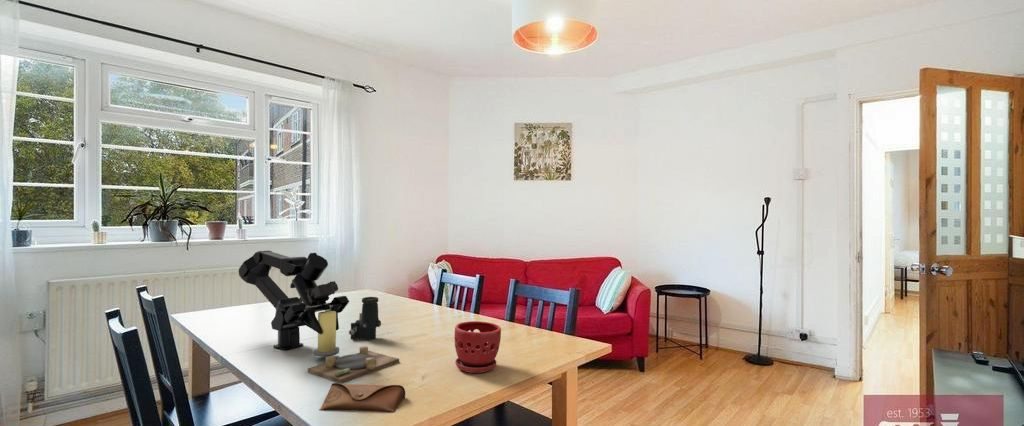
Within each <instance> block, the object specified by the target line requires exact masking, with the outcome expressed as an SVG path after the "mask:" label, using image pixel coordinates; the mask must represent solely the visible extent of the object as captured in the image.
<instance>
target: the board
mask: <svg viewBox="0 0 1024 426" xmlns="http://www.w3.org/2000/svg"><path fill="white" fill-rule="evenodd" d="M398 363H400V359H399V358H397V357H394V356H391V355H386V354H383V353H379V352H376V351H372V350H369V347H368V346H360V347H359V352H357V353H352V354H347V355H342V356H339V357H337V358H336V356H335V355H333V356H326V357H325V362H324V363H321V364H318V365H314V366H311V367H308V368H307V373H310V374H312V375H314V376H315V375H316V376H318V377H321V378H324V379H326V380H329V381H332V382H334V383H340V384H343V383H345V382H348V381H350V380H353V379H357V378H359V377H361V376H364V375H367V374H369V373H372V372H375V371H379V370H381V369H384V368H387V367H389V366H392V365H395V364H398Z"/></svg>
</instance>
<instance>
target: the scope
mask: <svg viewBox="0 0 1024 426" xmlns="http://www.w3.org/2000/svg"><path fill="white" fill-rule="evenodd" d="M361 302H362V305H361V312H359V318H358V319H357V320H355V322H351V323H350V329H349V331H348V335H350V340H364V341H372V340H373V341H374V340H376V339H377V328H380V327H381V325H382V321H381V320H380V319H379V304H378V302H379V298H378V297H377V296H366V297H363V298H361Z"/></svg>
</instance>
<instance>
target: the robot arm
mask: <svg viewBox="0 0 1024 426" xmlns="http://www.w3.org/2000/svg"><path fill="white" fill-rule="evenodd" d="M328 266H329V263H328V260H327V259H325V257H323V256H321V255H318V253H317V252H311V253H309V254H308V256H307V257H306V256H287V255H284V254H280V253H278V252H273V250H258V251H256V252H255V253H253V255H252V256H251V257H249V258H247V259H246V260H245V261H243V263H242V264H241V265H240V266H239V268H238V276H239V278H240V279H242V281H243V282H245V283H247V284H249V285H253V286H255V287H256V288H257V289H258V290H259V291H260V293H262V295H263V296H264V297H265V298H266V300H267V301H268V302H269V303H270V304H271V305H272V307H274V309H275V315H274V318H273V319H272V320H271V323H270V324H271V329H272V330H275V331H277V344H274V345H273V348H276V349H278V350H279V349H280V350H283V351H288V350H291V349H296V348H298V347H303V346H304V343H303V342H300V340H301V339H300V338H301V337H300V327H308V328H309V329H311V330H313V331H314V332H316V333H317V334H318V333H319V334H322V333H323V330H322V328H321V326H320V324H319V322H318V317H316V313H319V312H323V311H335V312H336V331H338V330H339V329H340V325H339V313H341V312H343V310H344V309H346V307H347V305H348V304H349V303H350V300H349V298H348V296H347V295H339V296H335V297H333V299H332V300H331V301H330V302H327V301H329V299H330V296H331V295H335V293H336V292H337V291H339V286H338V283H337V282H336V281H335V280H333V281H329V282H328V283H325V284H319V285H318V284H317V283H316V281H317V280H319V279H320V277H321V276H322V274H323V273H324V272H325V271H326V268H327V267H328ZM272 268H275V269H278V270H279V272H280V274H282V275H283V276H285V277H293V276H294V278H293V279H292V280H291V283H290V286H289V287H290V289H295V290H296V291H297V294H298V296H299V297H298V296H295V297H288V296H287V294H286V293H285V292H284V291H283V290H282V288H280V286H279V285H278V284H277V283H276V282H275V281H274V280H273V279H272V278H271V276H270V271H271V269H272Z"/></svg>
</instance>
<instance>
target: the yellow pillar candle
mask: <svg viewBox="0 0 1024 426" xmlns="http://www.w3.org/2000/svg"><path fill="white" fill-rule="evenodd" d="M317 320H318V322H319V324H320V326H321V328H322V330H323V333H322V334H319V333H317V348H315V349H314V350H313V355H314V356H315V357H320V358H321V357H322V358H323V357H325V358H326V357H329V356H336V355H338V354H339V353H340V347H339V346H337V330H336V312H335V311H325V310H324V311H318V312H317Z"/></svg>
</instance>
